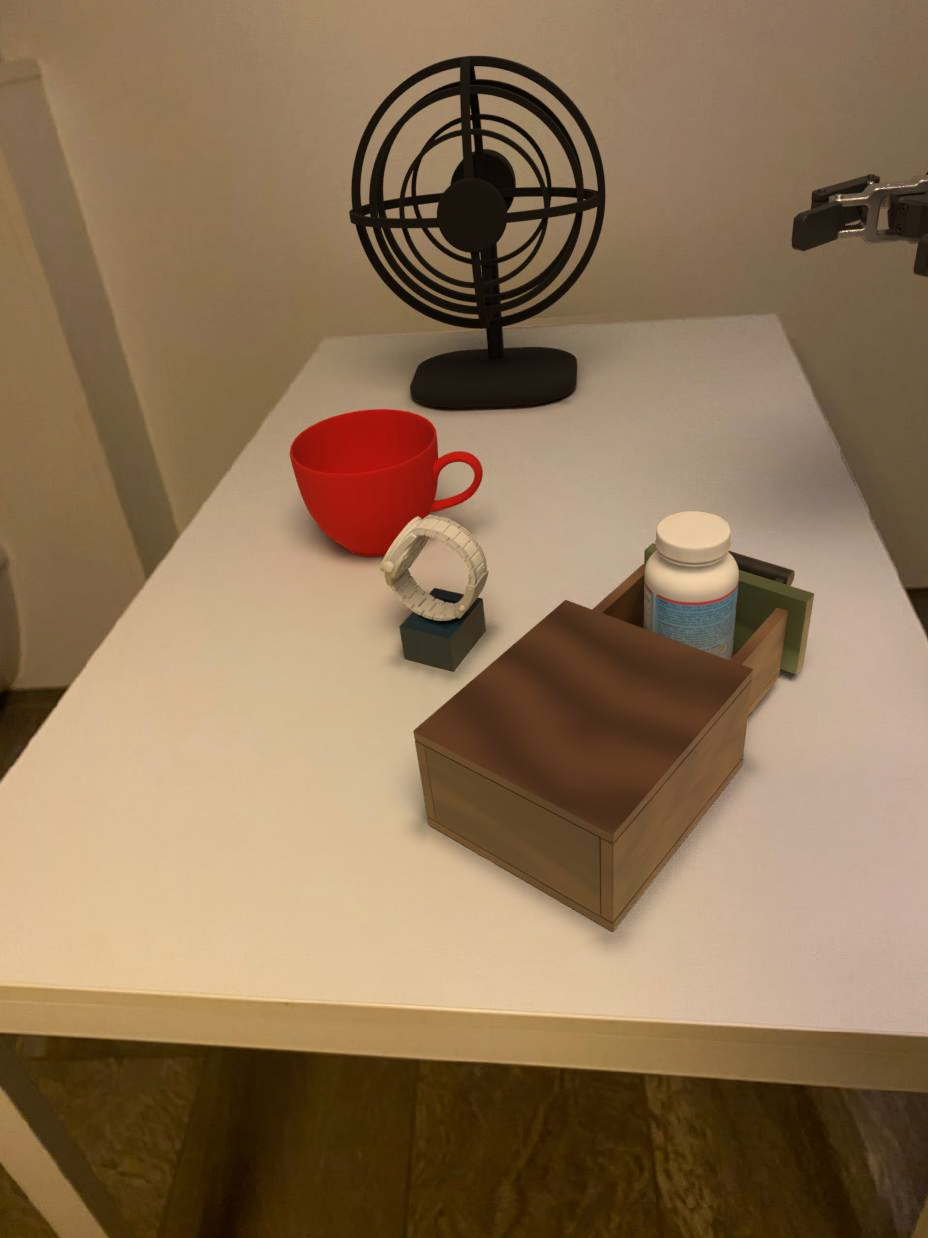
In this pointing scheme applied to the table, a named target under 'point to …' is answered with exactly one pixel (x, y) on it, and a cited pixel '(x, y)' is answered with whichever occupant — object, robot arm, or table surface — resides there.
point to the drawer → (743, 618)
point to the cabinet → (585, 756)
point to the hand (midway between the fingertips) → (855, 245)
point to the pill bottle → (692, 583)
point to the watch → (437, 595)
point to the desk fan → (481, 238)
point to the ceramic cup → (373, 475)
